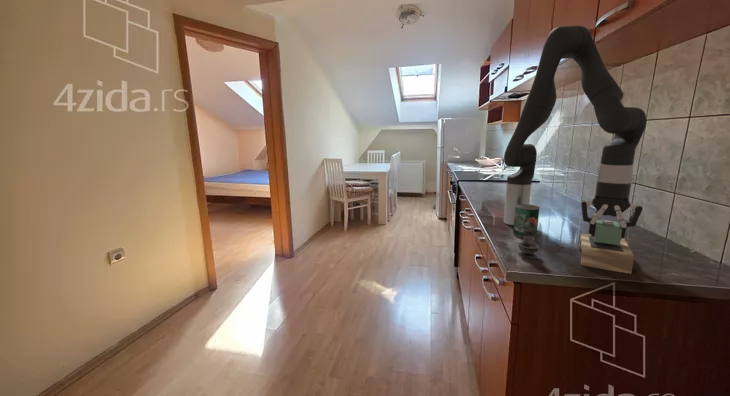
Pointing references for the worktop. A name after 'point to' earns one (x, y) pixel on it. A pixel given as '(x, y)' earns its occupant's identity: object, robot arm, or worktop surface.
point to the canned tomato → (525, 218)
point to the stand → (606, 255)
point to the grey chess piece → (528, 242)
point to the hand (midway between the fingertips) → (605, 237)
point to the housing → (607, 232)
